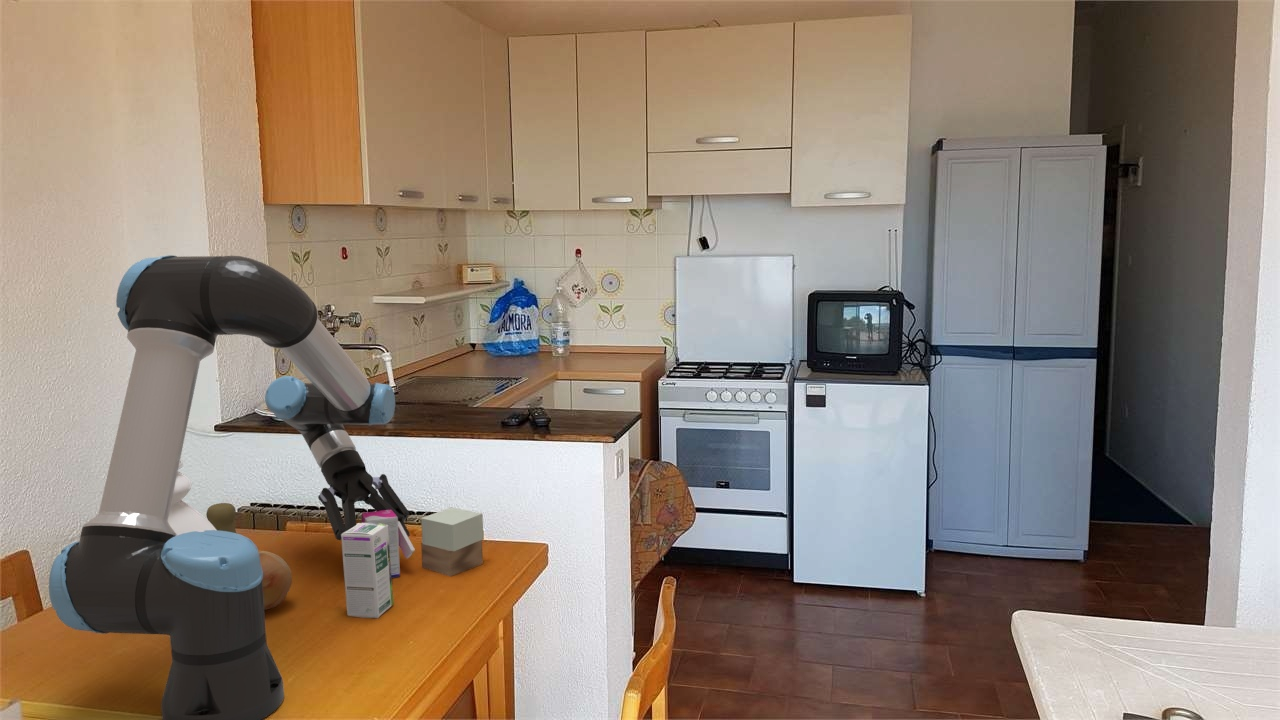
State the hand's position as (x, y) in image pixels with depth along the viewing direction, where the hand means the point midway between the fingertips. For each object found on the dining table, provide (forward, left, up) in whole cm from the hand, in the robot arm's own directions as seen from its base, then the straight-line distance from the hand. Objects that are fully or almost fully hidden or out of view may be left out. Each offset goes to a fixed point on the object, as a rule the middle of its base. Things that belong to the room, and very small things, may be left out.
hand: (392, 559), depth 175 cm
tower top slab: (+11, -3, +1) cm, 12 cm away
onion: (-22, +5, -4) cm, 23 cm away
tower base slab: (+11, -3, -4) cm, 12 cm away
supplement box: (0, +3, -4) cm, 5 cm away
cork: (-15, +34, -4) cm, 38 cm away
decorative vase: (-32, +18, -4) cm, 37 cm away
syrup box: (-11, -10, -4) cm, 15 cm away
